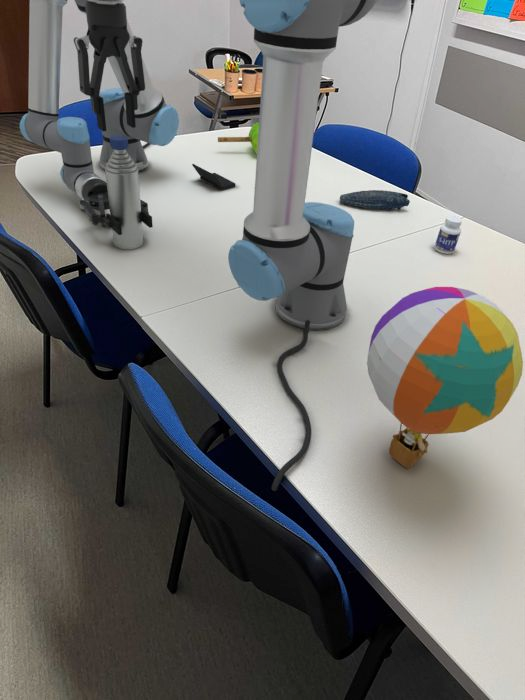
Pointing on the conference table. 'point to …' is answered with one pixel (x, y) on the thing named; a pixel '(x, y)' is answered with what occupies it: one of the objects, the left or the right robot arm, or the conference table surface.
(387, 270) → the conference table surface
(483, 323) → the toy
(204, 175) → the handheld gaming console
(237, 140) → the decorative tree
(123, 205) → the bottle
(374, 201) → the fish model
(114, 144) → the cap
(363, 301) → the conference table surface
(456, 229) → the pill bottle
